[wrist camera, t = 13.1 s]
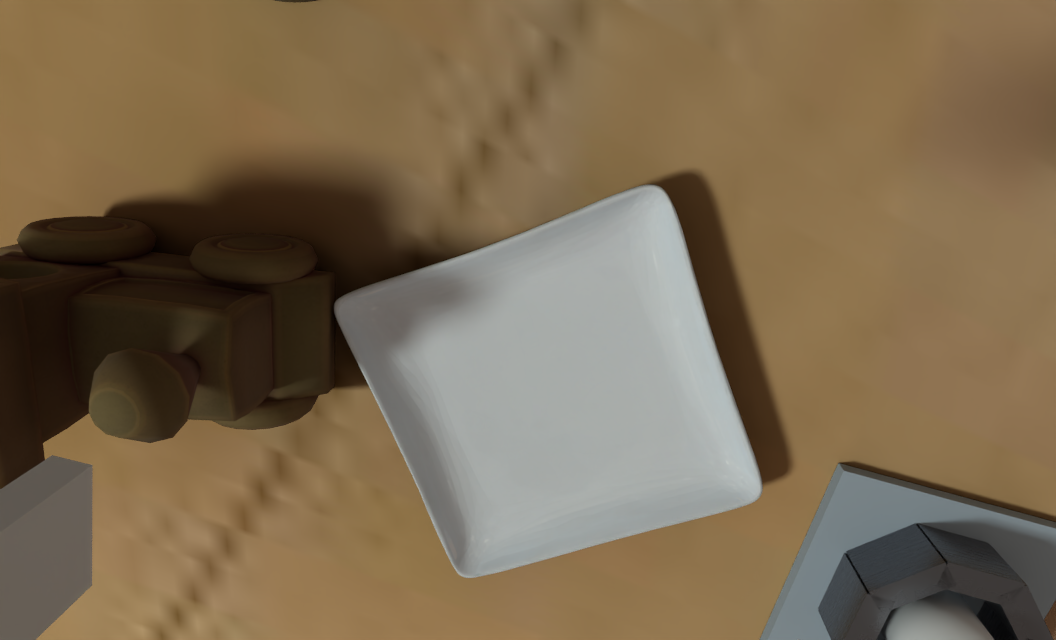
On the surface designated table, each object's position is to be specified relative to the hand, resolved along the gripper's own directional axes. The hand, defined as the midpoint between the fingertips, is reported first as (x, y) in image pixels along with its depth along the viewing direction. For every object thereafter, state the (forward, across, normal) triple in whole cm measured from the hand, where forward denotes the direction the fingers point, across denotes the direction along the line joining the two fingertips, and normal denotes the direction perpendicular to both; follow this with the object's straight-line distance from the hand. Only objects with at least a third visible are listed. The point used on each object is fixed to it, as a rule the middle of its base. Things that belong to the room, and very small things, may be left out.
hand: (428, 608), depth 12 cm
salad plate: (+31, +2, -9) cm, 32 cm away
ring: (+29, +29, -17) cm, 45 cm away
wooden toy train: (+31, -22, -9) cm, 39 cm away
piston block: (+30, +29, -17) cm, 46 cm away
